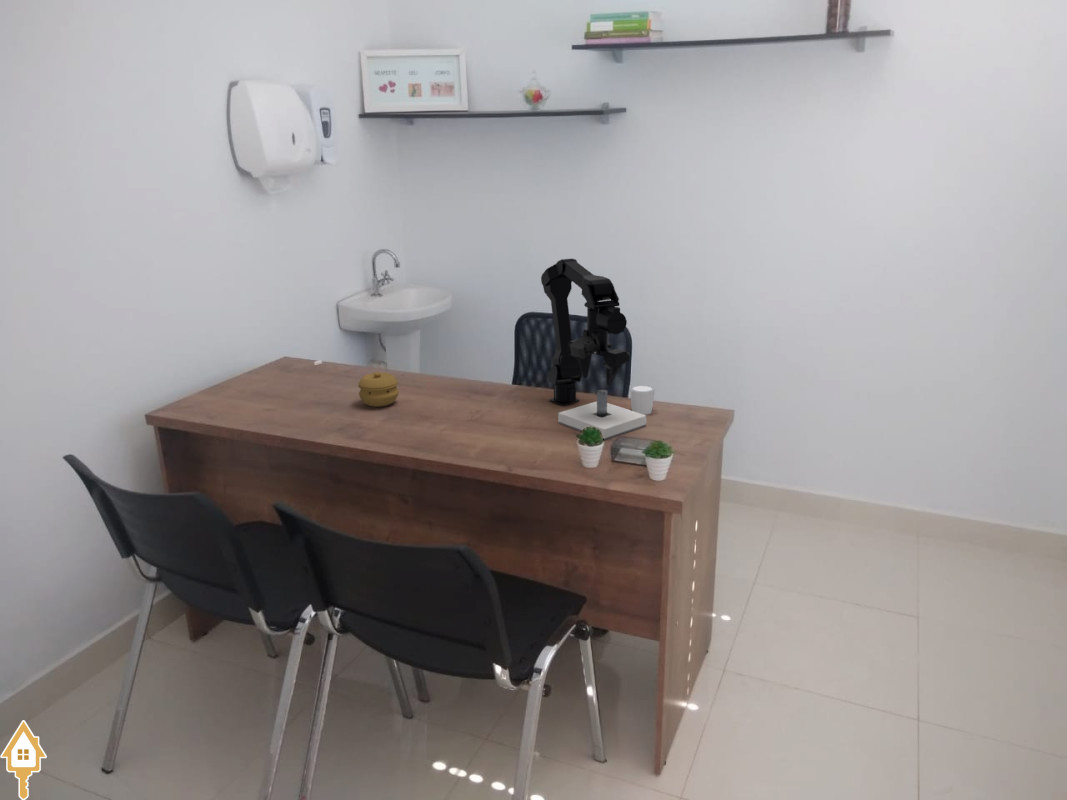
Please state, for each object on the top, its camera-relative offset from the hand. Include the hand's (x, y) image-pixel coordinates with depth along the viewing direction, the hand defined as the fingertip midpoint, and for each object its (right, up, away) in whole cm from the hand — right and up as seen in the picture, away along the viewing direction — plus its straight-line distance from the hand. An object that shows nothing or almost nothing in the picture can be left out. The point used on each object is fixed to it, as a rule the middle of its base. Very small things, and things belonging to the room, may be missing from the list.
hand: (597, 381), depth 225 cm
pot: (-63, -7, +22) cm, 67 cm away
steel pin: (+1, -11, +1) cm, 11 cm away
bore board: (+1, -12, +1) cm, 12 cm away
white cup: (+14, -9, +11) cm, 20 cm away
